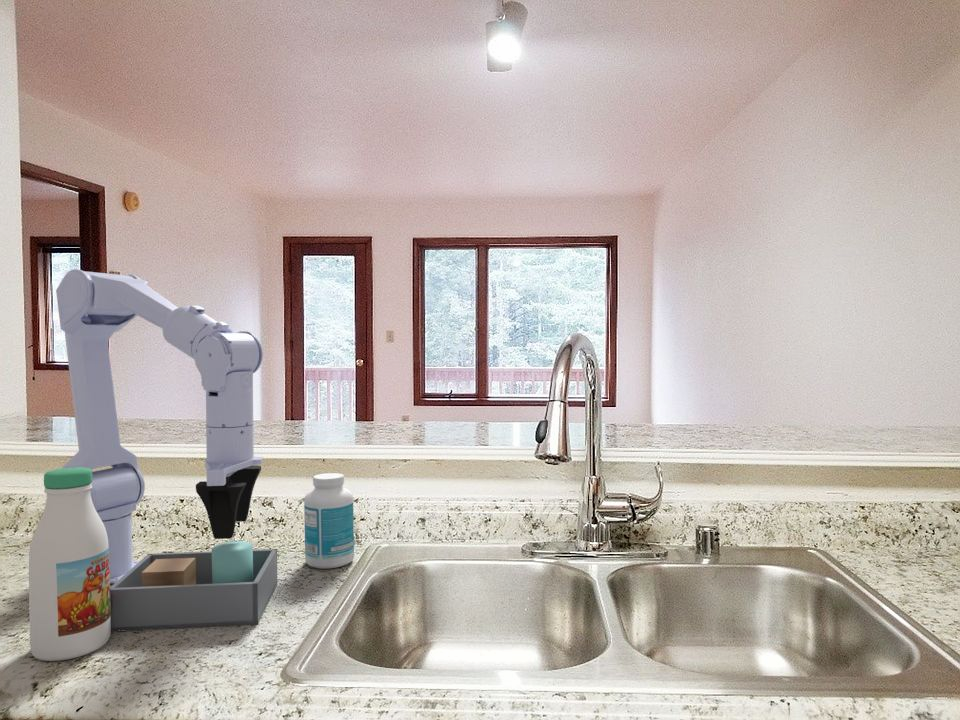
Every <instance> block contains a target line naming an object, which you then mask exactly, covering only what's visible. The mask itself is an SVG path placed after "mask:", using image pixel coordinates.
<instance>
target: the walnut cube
mask: <svg viewBox="0 0 960 720" xmlns="http://www.w3.org/2000/svg"><path fill="white" fill-rule="evenodd" d="M195 584H196V558H174V559H156V560H155V561H154V562H153V563H151V564H150V565H149V566H148V567H147V568H146V569H145V570H144V571H143V572H142V587H149V586H172V585H195Z"/></svg>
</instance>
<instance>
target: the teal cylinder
mask: <svg viewBox="0 0 960 720" xmlns="http://www.w3.org/2000/svg"><path fill="white" fill-rule="evenodd" d="M253 550H254V545H253V543H252V542H250V541H243V540H242V541H241V540H240V541H237V540H235V541H227V542H223V543H220V544H216V545H215V546H213V547H211V551H212V584H218V583H241V582H253Z"/></svg>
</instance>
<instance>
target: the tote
mask: <svg viewBox="0 0 960 720" xmlns="http://www.w3.org/2000/svg"><path fill="white" fill-rule="evenodd" d="M174 558H196V584H195V585H172V586H149V587H142V572H143V571H144V570H145V569H146V568H147V567H148V566H149V565H150V564H151V563H153V562H154V561H155V560H156V559H174ZM139 561H140V562H138V563H137V564H136V565H135V566H134V567H133V568H132V569H130V570H129V571H128V572H127V573H126V574H125V575H124V576H122V577H121V578H120V579H119V580H118V581H117V582H116V583H112V585H110V609H111V631H115V632H122V631H121V630H134V631H143V630H142V629H154V630H170V629H169V628H173V629H188V628H189V627H190V628H191V627H193V628H209V627H208V626H213V627H227V626H228V627H229V626H231V627H232V626H248V625H249V626H250V625H251V626H253V625H259V622H260V621H261V619H262V617H263V615H264V613H265V610H266V608H267V606H268V604H269V603H270V600H271V599H272V597H273V594H274V592H275V590H276V588H277V585H278V549H277V548H270V549H269V548H267V549H266V548H264V549H262V548H261V549H253V582H241V583H218V584H212V550H211V551H187V552H186V551H185V552H160V553H159V552H157V553H156V552H154V553H148V554H146V555H145V556H144V557H143V558H142V559H141V560H139ZM167 628H168V629H167ZM190 628H189V629H190ZM119 630H120V631H119Z"/></svg>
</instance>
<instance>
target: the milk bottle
mask: <svg viewBox="0 0 960 720" xmlns="http://www.w3.org/2000/svg"><path fill="white" fill-rule="evenodd" d="M92 472H93V470H91V469H89V468H83V467H74V468H63V469H61V468H57V469H52V470H49V471H47V472H46V471H45V473H44V475H43V486H44V489H43V490H44V491H43V492H44V494H46V501H45V505H44V510H43V512H42V515H41V517H40V519H39V521H38V523H37V525H36V528H35V529H34V532H33V534H32V537H31V541H30V544H29V545H30V546H29V552H28V555H29V556H28V603H29V604H28V605H29V606H28V607H29V608H28V609H29V610H28V611H29V644H30V645H29V646H30V653H31V655H32V657H33V658H35V659H36V660H38V661H39V660H40V661H46V662H56V661H59V662H60V661H66V660H72V659H76V658H79V657H82V656H85V655H88V654H91V653H94V652H95V651H97V650H99V649H101V648H103V646H105V645H106V644H107V643H108V641H109V639H110V637H111V634H112V633H111V609H110V587H111V583H110V566H109V546H108V537H107V532H106V529H105V526H104V524H103V522H102V520H101V518H100V517H99V515H98V513H97V512H96V510H95V507H94V505H93V502H92V499H91V496H90V489H91V488H92V487H93V486H92Z"/></svg>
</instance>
